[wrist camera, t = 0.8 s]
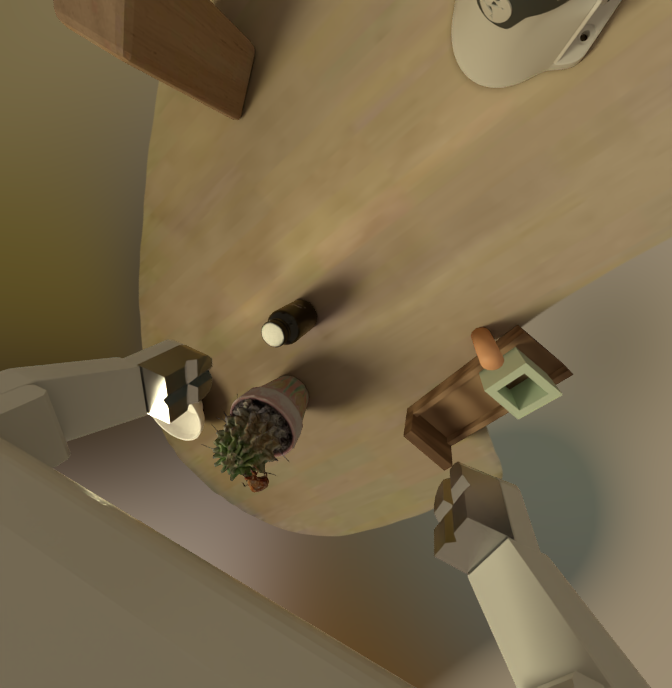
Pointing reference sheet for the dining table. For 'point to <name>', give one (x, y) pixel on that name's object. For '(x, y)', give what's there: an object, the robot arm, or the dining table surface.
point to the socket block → (525, 393)
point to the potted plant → (261, 429)
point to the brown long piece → (469, 400)
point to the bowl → (186, 423)
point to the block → (171, 44)
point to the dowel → (487, 349)
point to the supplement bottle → (289, 323)
